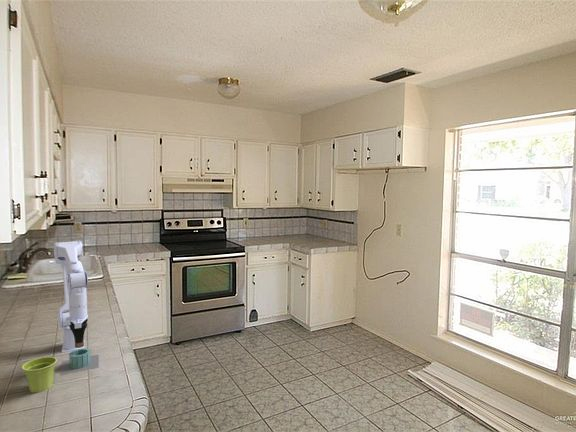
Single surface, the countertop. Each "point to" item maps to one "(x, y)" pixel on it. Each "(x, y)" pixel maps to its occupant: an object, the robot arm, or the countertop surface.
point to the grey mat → (68, 370)
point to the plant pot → (40, 373)
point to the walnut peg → (79, 344)
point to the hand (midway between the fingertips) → (79, 340)
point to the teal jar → (80, 358)
